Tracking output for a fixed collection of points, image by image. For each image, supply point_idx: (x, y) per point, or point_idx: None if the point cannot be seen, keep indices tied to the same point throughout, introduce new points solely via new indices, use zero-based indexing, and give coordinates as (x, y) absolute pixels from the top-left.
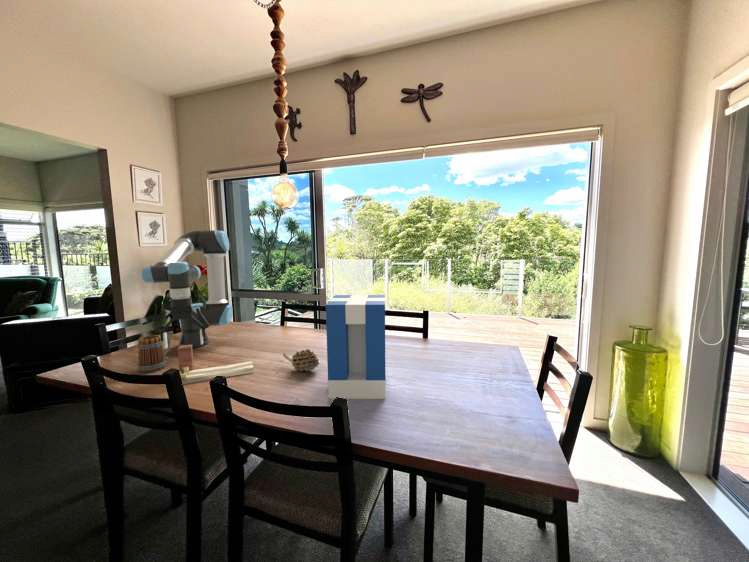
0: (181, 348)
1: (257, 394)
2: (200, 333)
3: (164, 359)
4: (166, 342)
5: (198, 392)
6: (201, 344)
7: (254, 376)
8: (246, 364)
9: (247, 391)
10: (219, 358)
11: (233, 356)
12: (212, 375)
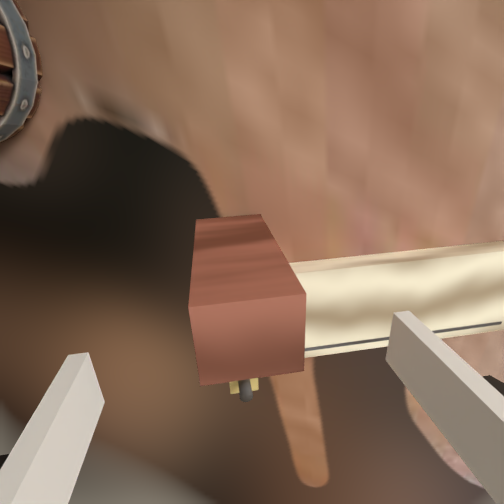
0: (232, 379)
1: (446, 452)
2: (474, 467)
3: (2, 40)
4: (76, 441)
5: (301, 418)
6: (391, 360)
7: (479, 350)
8: (500, 280)
9: (429, 435)
10: (397, 21)
11: (484, 19)
12: (352, 348)
